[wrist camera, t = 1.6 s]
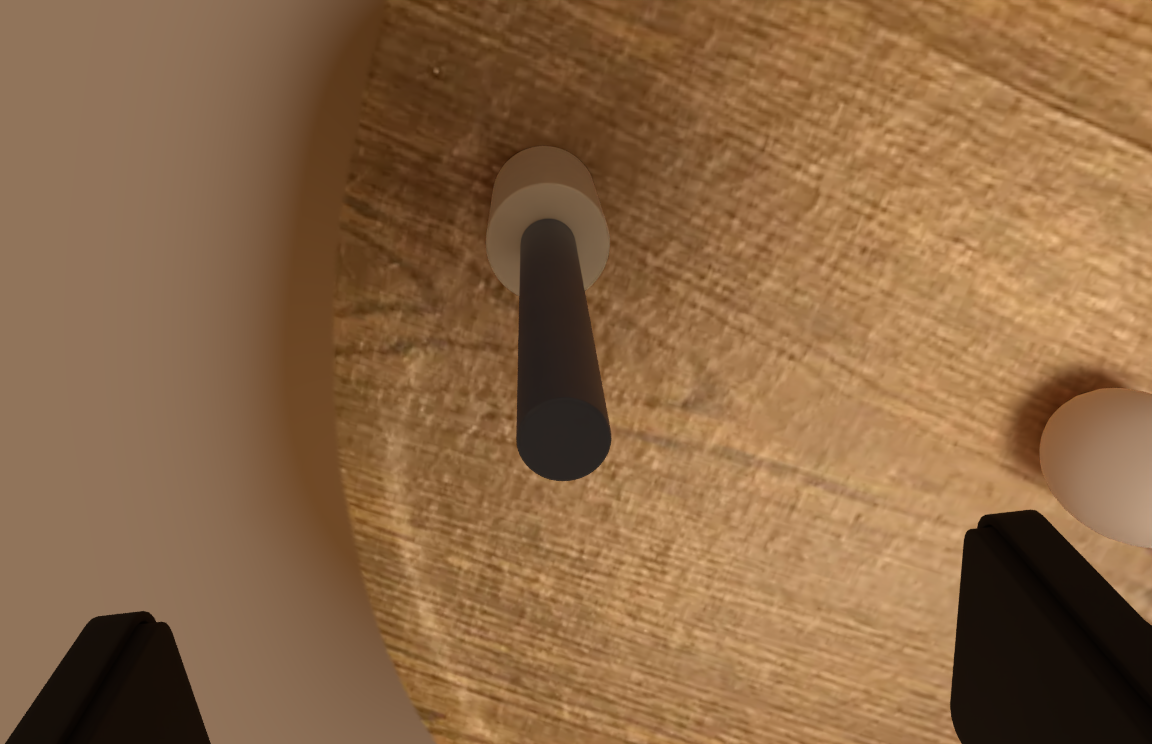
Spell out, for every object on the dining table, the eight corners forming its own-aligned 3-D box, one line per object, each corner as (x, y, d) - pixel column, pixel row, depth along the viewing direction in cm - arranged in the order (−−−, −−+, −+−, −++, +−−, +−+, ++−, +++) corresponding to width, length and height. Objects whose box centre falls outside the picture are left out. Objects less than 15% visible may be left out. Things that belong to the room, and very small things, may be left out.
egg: (983, 453, 37) (1085, 560, 30) (1059, 341, 35) (1186, 429, 28) (1087, 495, 38) (1208, 608, 31) (1167, 389, 36) (1313, 485, 29)
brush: (471, 186, 31) (411, 423, 15) (555, 124, 31) (589, 299, 14) (533, 267, 33) (541, 566, 16) (616, 208, 32) (711, 459, 15)
